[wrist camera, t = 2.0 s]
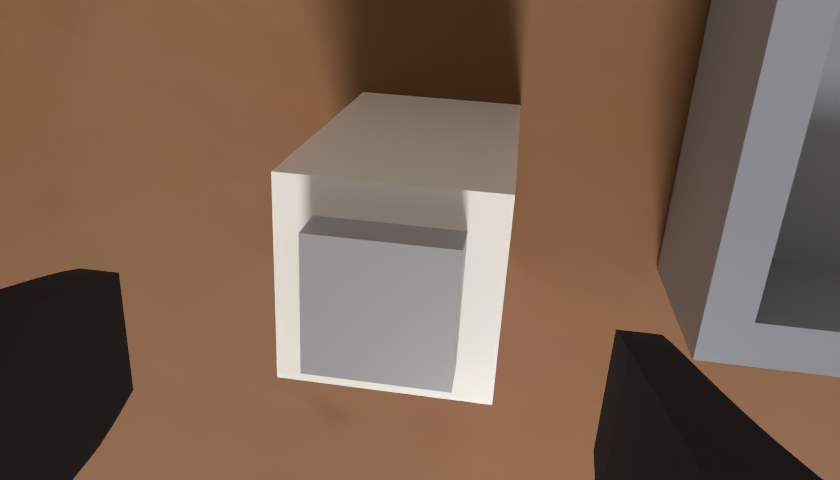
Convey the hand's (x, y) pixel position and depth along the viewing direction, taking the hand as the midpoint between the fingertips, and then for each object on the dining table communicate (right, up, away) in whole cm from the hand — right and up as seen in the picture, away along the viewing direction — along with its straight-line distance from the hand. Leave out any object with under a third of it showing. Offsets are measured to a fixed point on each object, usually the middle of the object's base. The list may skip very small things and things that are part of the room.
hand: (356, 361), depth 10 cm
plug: (+1, +3, +8) cm, 9 cm away
